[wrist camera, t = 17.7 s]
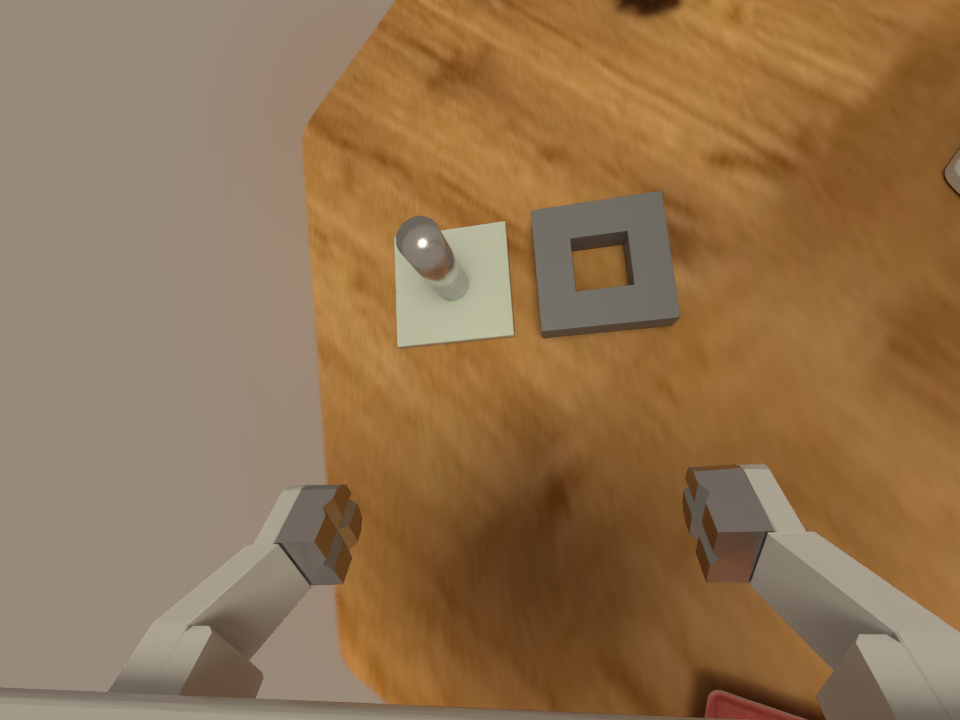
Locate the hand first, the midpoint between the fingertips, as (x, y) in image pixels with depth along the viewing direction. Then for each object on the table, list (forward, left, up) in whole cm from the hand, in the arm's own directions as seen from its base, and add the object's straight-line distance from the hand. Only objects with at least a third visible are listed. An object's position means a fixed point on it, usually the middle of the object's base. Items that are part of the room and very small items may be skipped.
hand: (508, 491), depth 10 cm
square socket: (-17, -3, -31) cm, 36 cm away
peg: (-10, -16, -31) cm, 36 cm away
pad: (-10, -16, -31) cm, 37 cm away
